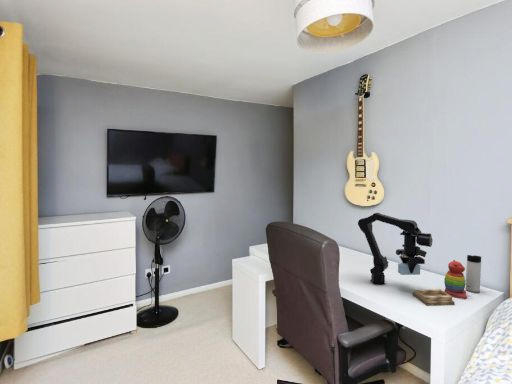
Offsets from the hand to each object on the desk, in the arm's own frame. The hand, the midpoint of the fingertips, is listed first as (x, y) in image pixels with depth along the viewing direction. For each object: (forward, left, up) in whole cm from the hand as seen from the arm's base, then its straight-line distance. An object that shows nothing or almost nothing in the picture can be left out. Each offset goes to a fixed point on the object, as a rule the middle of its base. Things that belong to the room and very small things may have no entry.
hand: (409, 271), depth 161 cm
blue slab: (0, 0, -1) cm, 1 cm away
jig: (+6, -12, -11) cm, 17 cm away
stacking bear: (+22, -6, -11) cm, 25 cm away
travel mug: (+34, -3, -11) cm, 36 cm away
